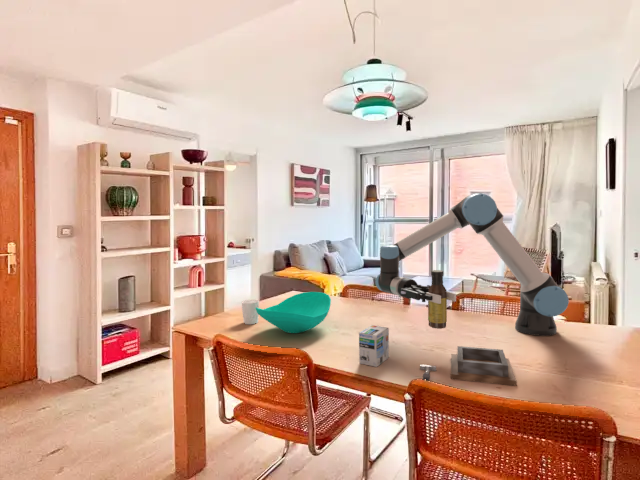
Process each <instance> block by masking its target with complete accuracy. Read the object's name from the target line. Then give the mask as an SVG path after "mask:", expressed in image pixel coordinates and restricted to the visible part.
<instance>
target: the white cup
mask: <svg viewBox="0 0 640 480" xmlns="http://www.w3.org/2000/svg"><path fill="white" fill-rule="evenodd" d="M259 305H260V301H259V299H245V300H243V301H241V311H242V318H243V319H242V320H243V324H244V323H245V325H255V323H256V324H258V323H259V317H260V315H259V314H258V313H257V311H256V308H260V307H259Z"/></svg>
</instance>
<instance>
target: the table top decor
mask: <svg viewBox="0 0 640 480" xmlns="http://www.w3.org/2000/svg"><path fill="white" fill-rule="evenodd" d="M331 303H332V299H331V297H330V295H329V294H327V293H326V292H321V291H306V292H301V293H296V294H294V295H292V296H289V297H288V298H286V299H284V300H282V301H281V302H279V303H278V304H274V305H272V306H268V307H266V308H264V309H263V308H261V307H259V308H256V311H257V313H258V314H259V317H261V318H262V319H263V320H265V321H267V323H268V322H269V323H270V324H271V325H273V326H274V327H276V328H278V329H279V330H282V331H283V332H285V333H288V334H299V333H304V332H306V331H309V330H311V329H314V328H315V327H318V325H320V324H321V323H322V322H324V321H325V319H326V317H327V316H328V315H329V314H328V313H329V311H330V309H331V305H332V304H331Z"/></svg>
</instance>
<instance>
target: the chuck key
mask: <svg viewBox="0 0 640 480" xmlns="http://www.w3.org/2000/svg"><path fill="white" fill-rule="evenodd" d="M419 370H420V371H424V372H423V374H422V379H423V380H424V379H426V380H428V381H429V380H430V378H431V374H430V372H437V365H430V364H429V365H427V364H420V365H419Z"/></svg>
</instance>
